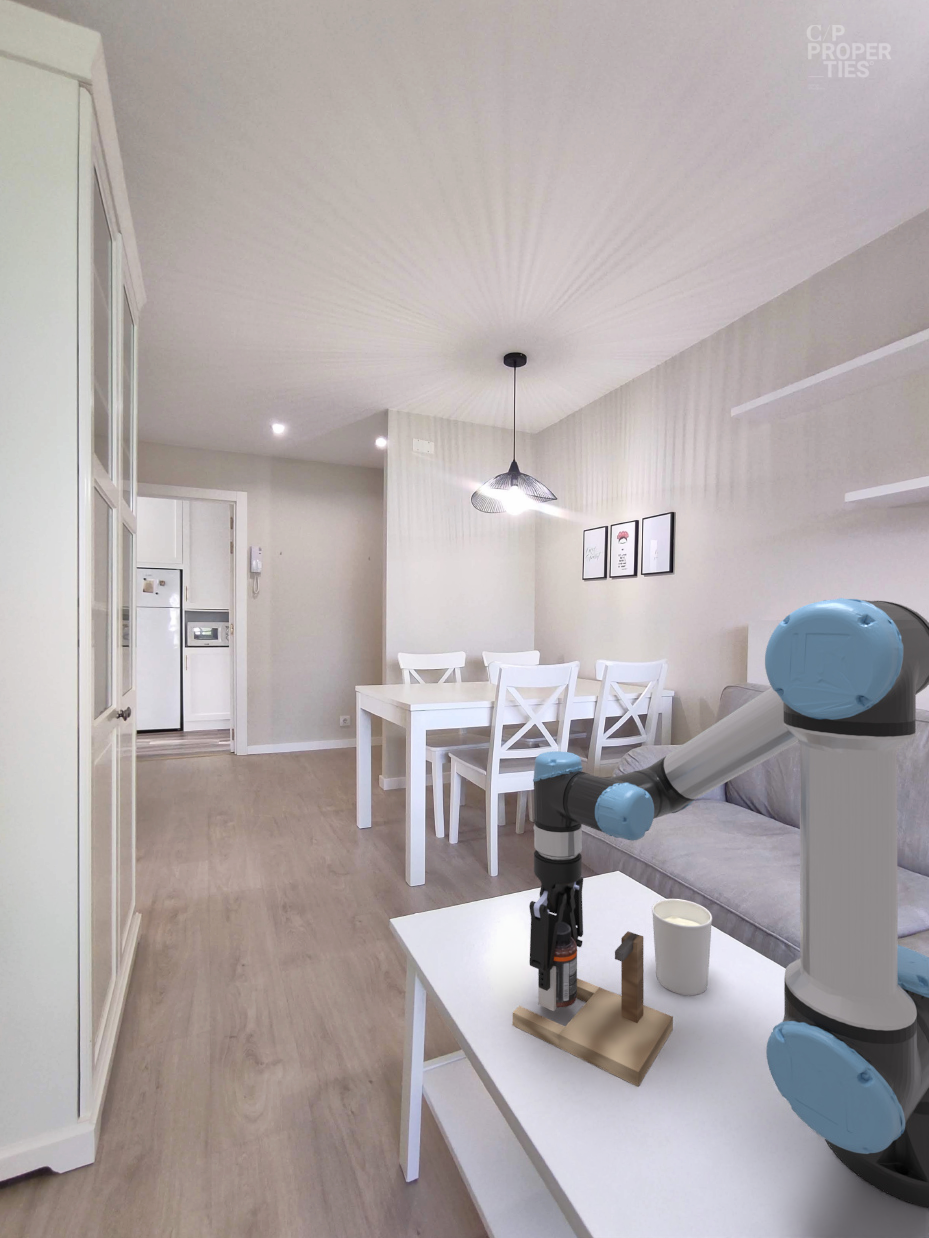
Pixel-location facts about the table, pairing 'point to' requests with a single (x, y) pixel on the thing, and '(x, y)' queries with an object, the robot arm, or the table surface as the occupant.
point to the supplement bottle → (565, 966)
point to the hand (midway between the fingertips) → (557, 995)
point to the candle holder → (682, 945)
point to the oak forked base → (603, 1033)
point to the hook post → (631, 976)
